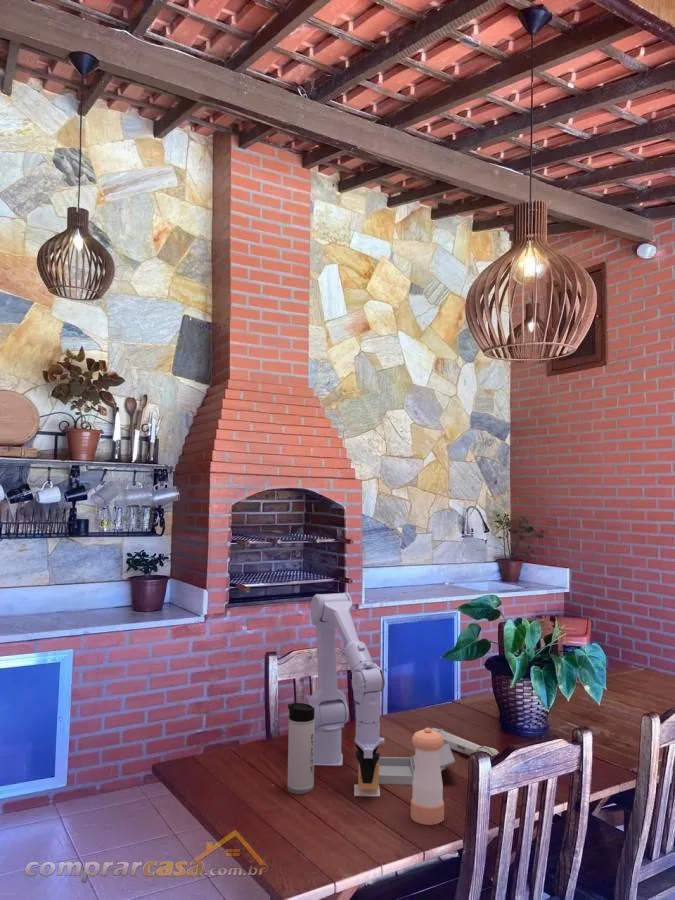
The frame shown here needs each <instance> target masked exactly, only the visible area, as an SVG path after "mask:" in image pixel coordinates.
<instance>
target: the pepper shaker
mask: <svg viewBox="0 0 675 900" xmlns="http://www.w3.org/2000/svg"><path fill="white" fill-rule="evenodd" d="M430 728H431V727H426V728H424V729H421V730H418V731H416V732H414V734H413V735H412V738H411V742H412V745H413V746H414V748H415V752H414V753H415V754H414V755H415V770H414V777H413V783H412V785H411V786H412V787H411V788H412V798H411V800H410V818H411V819H412V821H414V822H415V823H418V824H420V825H426V826H434V824H435V825H439V824H441V823H443V822H444V820H445V802H444V800H443V792H444V785H443V784H444V783H443V777H442V772H441V770H440V769H441V768H440V749H441V748H442V746H443V744H444V740H443V737H442V736H441V734H440V733H438V732H436V731H433V730H431V729H430ZM442 821H443V822H442ZM440 822H441V823H440ZM438 823H439V824H438Z"/></svg>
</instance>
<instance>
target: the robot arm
mask: <svg viewBox="0 0 675 900" xmlns="http://www.w3.org/2000/svg"><path fill="white" fill-rule="evenodd" d="M353 605H354V604H353V600H352V596H351V595H350V594H349V593H348V592H347V591H345V592H343V593H342V592H339V593H323V594H322V593H320V594H319V593H316V594H315V595H313V597H312V599H311V602H310V619H311V624H312V625H313V626H315V634H316V636H315V637H316V638H315V639H316V657H317V658H316V659H317V660H316V661H317V678H318V679H317V681H318V683H317V684H318V689H316V690H315V691H314V692H313V693H312V694H311V695H310V696H309V697H308V699H309V700H308V705H311V706H312V707H313V708H314V709H315V710H314V712H315V714H314V716H315V720H314V721H315V732H314V766H335V767H336V766H338V767H340V766H343V763H344V762H343V757H344V755H343V753H342V728H345V724H346V723H347V722H348V719H349V716H350V715H349V714H350V712H349V705H348V703H347V702H348V701H347V696H346V694H345V693H344V692H342V691H341V690H340V689H339V688H338V674H337V673H338V672H337V652H336V633H335V629H337V632H338V633H339V636H340V637H341V639H342V641H343V644H344V645H345V649H344V651H343V654H344V656H345V660H346V661H347V663H348V667H349V669H350V671H351V674H352V676H351V677H352V679H351V687H352V690H353V699H354V701H355V737H354V743H355V747H356V749H357V750H355V757H356V760H357V761H358V766H359V765H360V769H361V776H362V781H363V783H369V784H371V783H372V781H373V776H374V771H375V766H376V764H377V761H378V760H379V757H381V753H379V752H377V750H378V748H379V745H380V744H385V738H384V737H380V730H381V727H380V726H381V725H380V721H381V720H380V719H381V717H380V716H381V692H383V691H384V689H385V686H386V679H385V674H384V671H383V669H382V668H381V667H380V666H378V664H377V663H374V662H373V658H372V657H371V654H370V652H369V650H368V648H367V644H366V643H365V642H363V641H360V639H359V636H358V633H357V631H356V627H355V624H354V621H353V617H352V615H353V608H354V606H353Z"/></svg>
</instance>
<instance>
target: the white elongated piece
mask: <svg viewBox="0 0 675 900" xmlns="http://www.w3.org/2000/svg"><path fill="white" fill-rule="evenodd" d="M429 728H430V729H431V730H433V731H436V732H438V733H440V734H441V736H442V737H443V740H444V744H443V745H445V744H449V747H450V749H451V751H452V750H453V751H456V752H459V753H462V754H465V755H468V756H470V754H471V753H474V752H479V751H483V752H487V753H489V754H490V755H491V756H494V755H497V754H498V753H499V754H500V752H499V750H497V749H496V748H493V747H489V746H485V745H482V746H481V745H479V744H477V743H475V742H472V741H470V740H466V739H464V738H462V737H459V736H457V735H454V734H452V733H449V732H447V731H445V730H444V729H443V728H440V729H439V728H437V727H436V728H435V727H429Z"/></svg>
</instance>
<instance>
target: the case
mask: <svg viewBox="0 0 675 900" xmlns="http://www.w3.org/2000/svg"><path fill="white" fill-rule="evenodd" d="M455 759H456V758H455V757H454V754H453V752H452V749H450V747H449V744H445V745H443V746H442V748H441V749H440V770H441V773H442V771H444V770H446V769H447V766H449V765H453V764H455V763H456V760H455ZM378 763H379V785H405V786H409V785H410V786H412V783H413V777H414V770H415V754H414V755H410V757H404V756H402V757H400V756H399V757H397V756H393V757H391V756H380V757H379V760H378Z"/></svg>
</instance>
